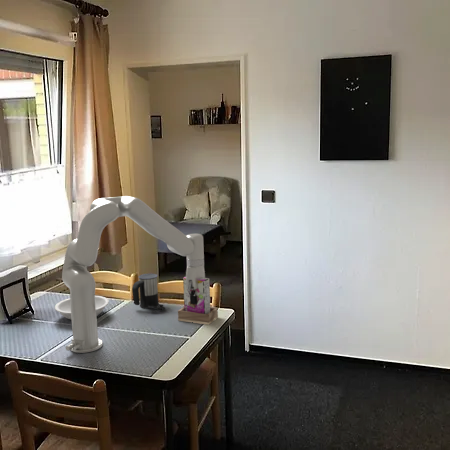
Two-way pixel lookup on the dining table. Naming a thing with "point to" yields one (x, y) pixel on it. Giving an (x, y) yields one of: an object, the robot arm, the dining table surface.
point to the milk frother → (146, 292)
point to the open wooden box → (198, 316)
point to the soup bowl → (66, 312)
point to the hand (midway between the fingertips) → (197, 301)
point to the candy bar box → (198, 297)
